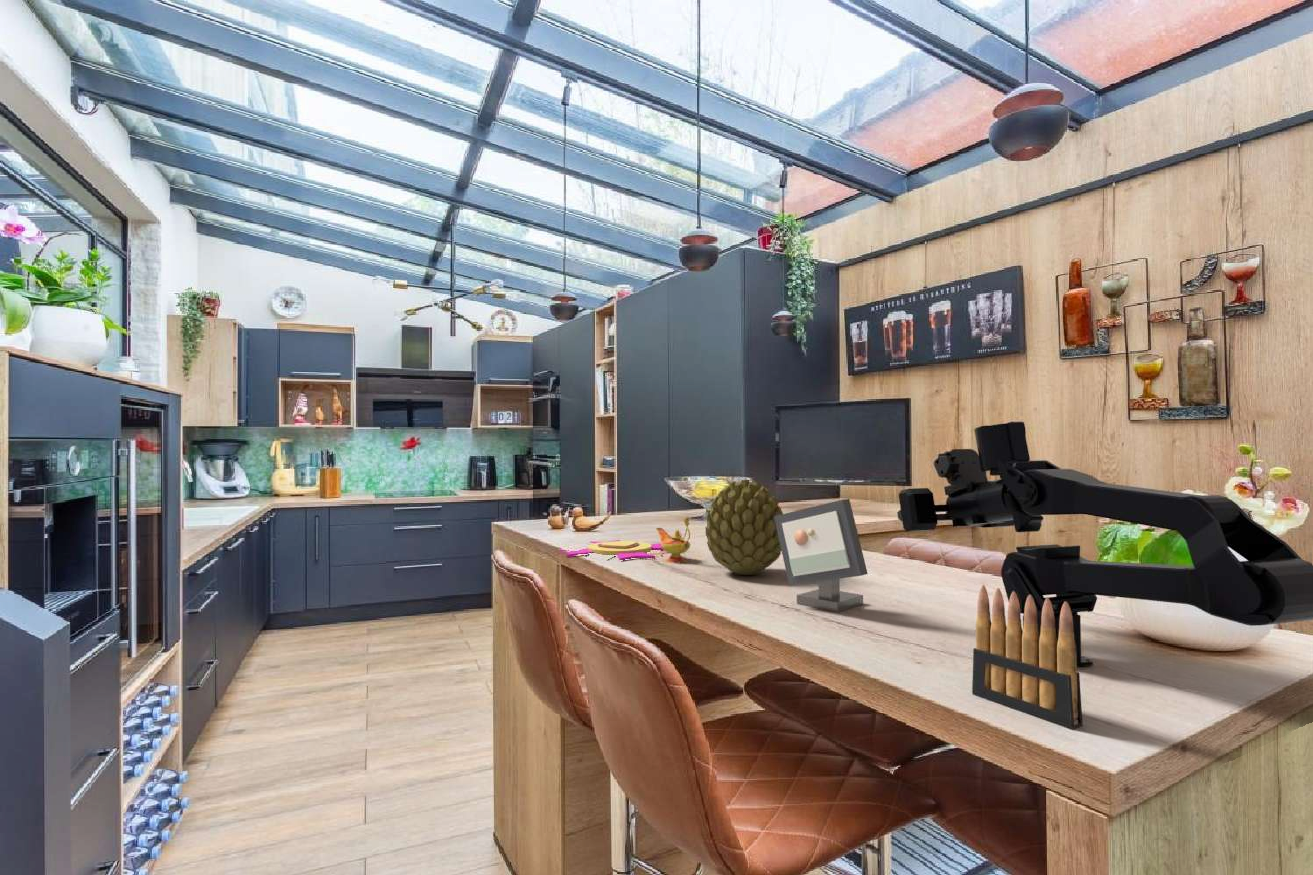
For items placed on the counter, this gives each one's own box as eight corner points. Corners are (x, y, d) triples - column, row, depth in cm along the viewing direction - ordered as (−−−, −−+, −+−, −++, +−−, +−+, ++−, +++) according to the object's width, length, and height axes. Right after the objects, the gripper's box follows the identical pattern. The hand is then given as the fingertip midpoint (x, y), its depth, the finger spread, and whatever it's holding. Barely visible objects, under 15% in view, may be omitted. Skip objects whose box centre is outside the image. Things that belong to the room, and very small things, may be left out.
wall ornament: (576, 555, 154) (551, 539, 183) (576, 566, 154) (551, 548, 183) (695, 548, 165) (654, 533, 193) (695, 557, 165) (654, 541, 193)
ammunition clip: (971, 694, 73) (970, 584, 73) (982, 691, 74) (980, 582, 74) (1072, 730, 64) (1070, 604, 64) (1083, 726, 65) (1081, 602, 65)
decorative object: (765, 565, 152) (764, 477, 152) (800, 579, 136) (799, 480, 136) (695, 569, 147) (694, 478, 148) (722, 584, 131) (721, 482, 131)
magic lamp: (669, 553, 170) (669, 509, 170) (703, 564, 153) (702, 516, 153) (644, 555, 167) (644, 511, 167) (676, 567, 150) (676, 518, 151)
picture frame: (867, 573, 104) (849, 498, 107) (859, 576, 103) (840, 499, 105) (796, 584, 114) (780, 515, 117) (787, 586, 113) (772, 516, 115)
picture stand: (863, 603, 114) (862, 522, 115) (836, 612, 109) (835, 526, 109) (823, 596, 120) (822, 518, 120) (796, 603, 115) (795, 522, 115)
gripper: (1036, 445, 98) (962, 464, 113) (928, 446, 93) (865, 466, 107) (1051, 521, 95) (973, 531, 110) (941, 526, 90) (875, 536, 105)
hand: (922, 514), depth 108 cm, fingers open, 9 cm apart
